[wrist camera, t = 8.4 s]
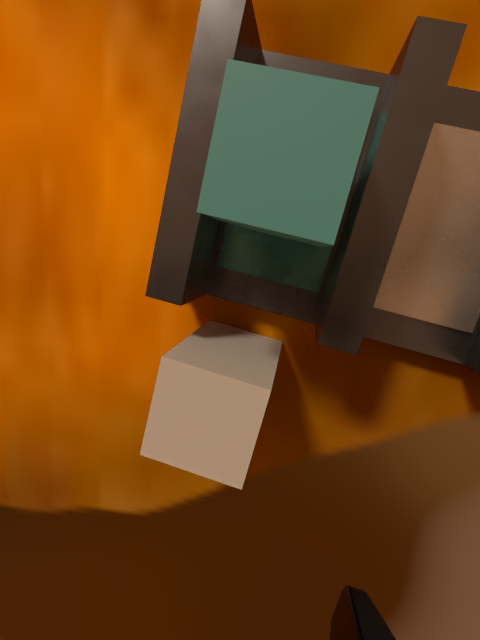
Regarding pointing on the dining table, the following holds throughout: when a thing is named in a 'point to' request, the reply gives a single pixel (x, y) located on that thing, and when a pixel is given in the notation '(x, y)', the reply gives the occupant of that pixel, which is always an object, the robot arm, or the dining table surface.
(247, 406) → the off-white plug
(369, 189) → the slot rack
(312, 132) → the teal plug
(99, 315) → the dining table surface
